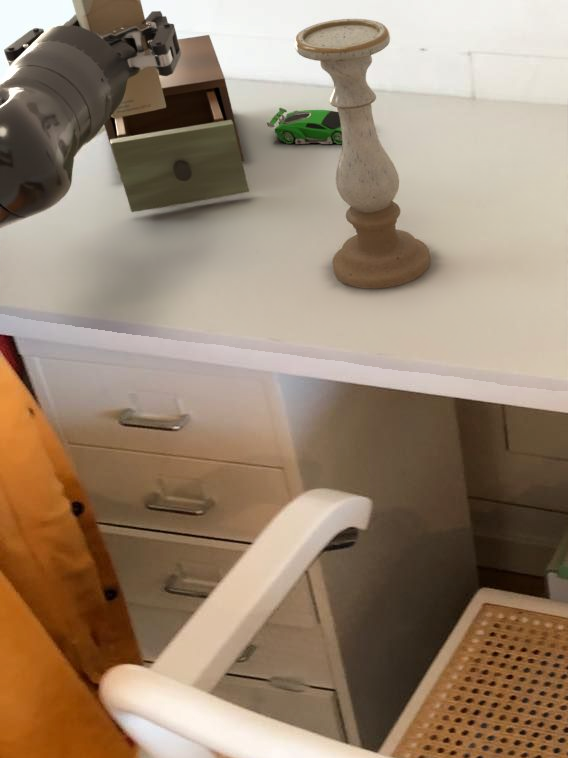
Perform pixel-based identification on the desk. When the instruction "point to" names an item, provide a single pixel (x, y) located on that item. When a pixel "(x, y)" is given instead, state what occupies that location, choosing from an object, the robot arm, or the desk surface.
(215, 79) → the cabinet
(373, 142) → the candle holder
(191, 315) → the desk surface
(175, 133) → the drawer
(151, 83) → the box
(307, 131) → the toy car
